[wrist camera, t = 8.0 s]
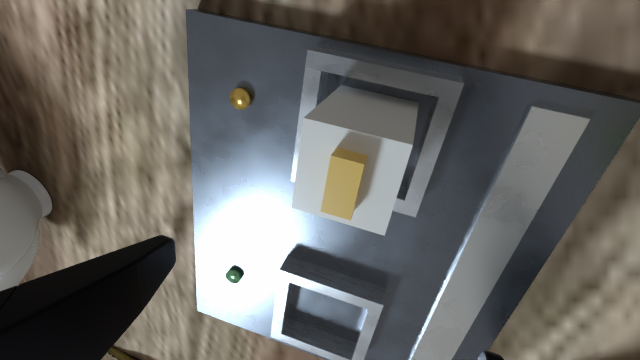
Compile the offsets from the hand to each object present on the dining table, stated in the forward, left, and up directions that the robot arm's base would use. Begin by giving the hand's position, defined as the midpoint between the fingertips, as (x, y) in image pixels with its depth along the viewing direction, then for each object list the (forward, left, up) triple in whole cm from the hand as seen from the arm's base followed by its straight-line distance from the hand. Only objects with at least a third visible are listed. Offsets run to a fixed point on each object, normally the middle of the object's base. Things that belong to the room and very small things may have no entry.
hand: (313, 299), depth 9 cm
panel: (0, +7, -12) cm, 14 cm away
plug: (0, -1, -11) cm, 11 cm away
